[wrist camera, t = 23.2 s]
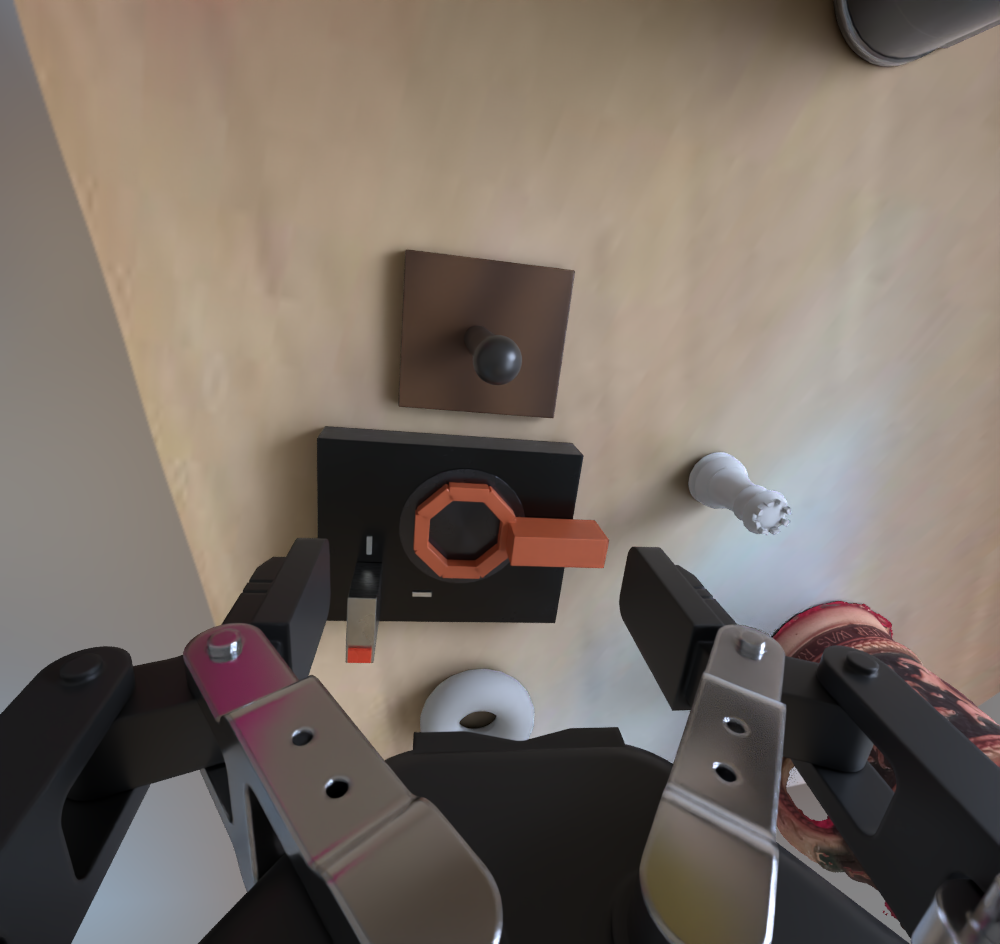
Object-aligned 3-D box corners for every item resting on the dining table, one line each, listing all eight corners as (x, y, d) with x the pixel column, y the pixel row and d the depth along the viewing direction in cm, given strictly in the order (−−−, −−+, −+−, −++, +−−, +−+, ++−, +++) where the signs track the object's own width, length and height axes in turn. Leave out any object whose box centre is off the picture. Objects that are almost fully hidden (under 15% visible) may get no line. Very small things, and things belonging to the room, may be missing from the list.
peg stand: (571, 270, 35) (643, 264, 23) (550, 415, 38) (604, 472, 27) (406, 250, 33) (395, 232, 22) (399, 403, 36) (386, 459, 25)
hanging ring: (411, 570, 38) (410, 595, 35) (417, 480, 35) (416, 498, 32) (584, 574, 40) (598, 598, 37) (600, 489, 37) (615, 507, 34)
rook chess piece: (748, 468, 42) (818, 507, 34) (713, 511, 43) (773, 559, 35) (710, 439, 41) (774, 474, 33) (674, 485, 42) (728, 529, 34)
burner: (532, 472, 36) (532, 472, 36) (517, 583, 39) (517, 584, 39) (402, 464, 35) (402, 465, 35) (396, 581, 38) (396, 581, 38)
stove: (572, 443, 39) (584, 456, 36) (543, 622, 44) (552, 646, 41) (308, 424, 36) (298, 437, 33) (311, 620, 41) (302, 646, 38)
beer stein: (889, 595, 52) (739, 587, 47) (1428, 858, 26) (1215, 905, 21) (839, 737, 55) (694, 744, 50) (1269, 1099, 29) (1055, 1188, 24)
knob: (356, 562, 37) (346, 600, 32) (382, 563, 37) (376, 600, 33) (354, 621, 38) (344, 665, 34) (379, 622, 39) (373, 665, 34)
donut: (540, 662, 46) (427, 657, 44) (549, 690, 43) (428, 686, 41) (518, 748, 49) (412, 747, 47) (526, 780, 46) (412, 781, 44)
